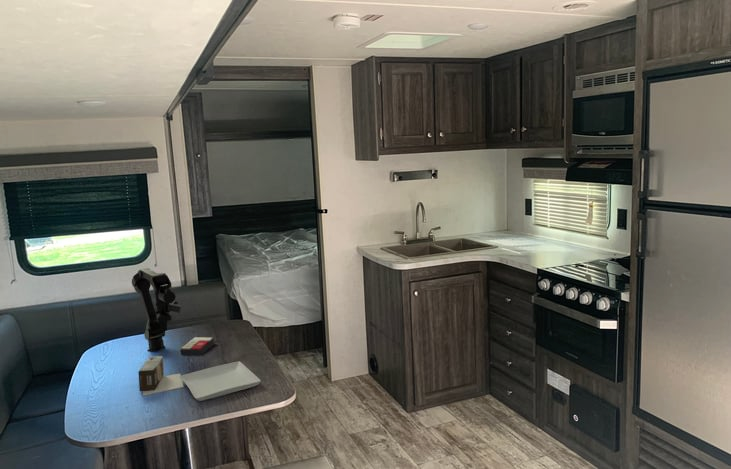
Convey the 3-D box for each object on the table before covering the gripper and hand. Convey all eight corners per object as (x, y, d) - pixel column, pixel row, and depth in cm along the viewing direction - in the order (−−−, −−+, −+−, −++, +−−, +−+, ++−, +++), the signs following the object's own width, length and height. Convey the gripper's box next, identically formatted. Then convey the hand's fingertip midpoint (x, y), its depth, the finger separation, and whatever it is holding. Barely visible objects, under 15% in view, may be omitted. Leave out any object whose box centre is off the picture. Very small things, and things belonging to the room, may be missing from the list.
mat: (141, 381, 238) (141, 380, 238) (180, 373, 244) (179, 373, 244) (143, 395, 224) (143, 395, 224) (183, 387, 230) (183, 386, 230)
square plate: (196, 407, 212) (195, 397, 211) (179, 383, 235) (178, 375, 234) (262, 388, 226) (261, 379, 225) (240, 367, 249) (239, 359, 248)
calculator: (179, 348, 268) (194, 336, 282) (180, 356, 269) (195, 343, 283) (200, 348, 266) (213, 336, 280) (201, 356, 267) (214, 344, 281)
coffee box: (164, 375, 243) (155, 391, 228) (149, 375, 243) (139, 392, 227) (163, 355, 242) (153, 370, 226) (148, 356, 241) (137, 371, 225)
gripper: (181, 301, 257) (184, 333, 259) (177, 292, 274) (180, 322, 276) (155, 305, 253) (159, 337, 255) (153, 296, 270) (157, 326, 272)
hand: (165, 330), depth 265 cm, fingers closed
